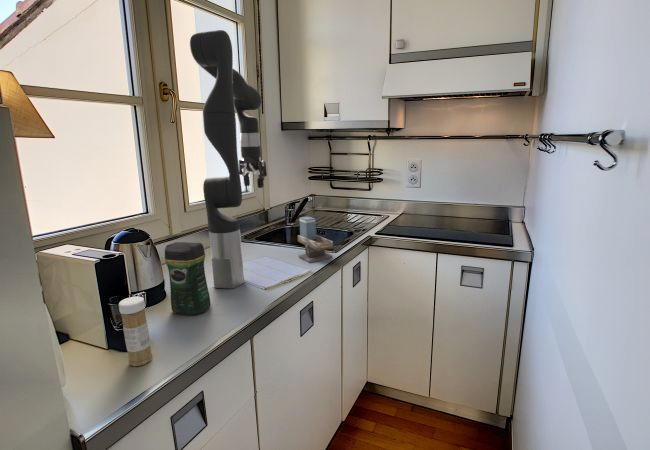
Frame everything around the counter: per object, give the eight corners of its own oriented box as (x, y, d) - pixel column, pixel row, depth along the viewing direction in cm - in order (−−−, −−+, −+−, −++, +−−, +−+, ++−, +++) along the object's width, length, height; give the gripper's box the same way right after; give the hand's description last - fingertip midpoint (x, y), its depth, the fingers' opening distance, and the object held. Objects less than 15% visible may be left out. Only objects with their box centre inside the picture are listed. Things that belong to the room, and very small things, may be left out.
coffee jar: (215, 304, 104) (209, 239, 100) (198, 318, 96) (190, 247, 92) (185, 301, 106) (177, 237, 102) (166, 314, 99) (157, 245, 95)
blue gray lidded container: (316, 239, 144) (315, 218, 142) (306, 240, 142) (305, 219, 140) (309, 236, 148) (308, 216, 146) (300, 238, 146) (299, 217, 144)
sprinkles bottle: (145, 352, 81) (136, 293, 78) (157, 359, 79) (148, 298, 76) (124, 362, 78) (113, 301, 75) (135, 370, 75) (125, 307, 72)
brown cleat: (338, 260, 138) (337, 240, 136) (314, 265, 133) (313, 245, 131) (315, 250, 151) (315, 232, 150) (293, 254, 146) (292, 236, 144)
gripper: (231, 145, 148) (235, 186, 152) (254, 146, 139) (257, 189, 143) (247, 144, 153) (250, 184, 158) (269, 144, 144) (272, 187, 148)
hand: (253, 186), depth 150 cm, fingers open, 8 cm apart
